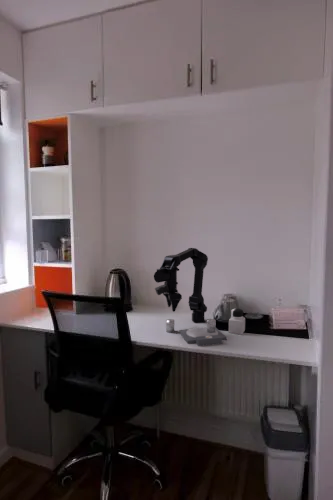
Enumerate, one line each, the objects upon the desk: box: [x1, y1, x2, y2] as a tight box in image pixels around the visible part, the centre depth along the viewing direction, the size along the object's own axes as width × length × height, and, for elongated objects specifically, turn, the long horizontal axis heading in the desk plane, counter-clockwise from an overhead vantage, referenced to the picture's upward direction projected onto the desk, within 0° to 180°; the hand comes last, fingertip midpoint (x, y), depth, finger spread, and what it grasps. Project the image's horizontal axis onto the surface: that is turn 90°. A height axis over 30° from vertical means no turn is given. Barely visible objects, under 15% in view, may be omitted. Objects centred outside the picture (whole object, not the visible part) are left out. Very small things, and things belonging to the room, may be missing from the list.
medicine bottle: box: [228, 308, 246, 335], centre depth 171 cm, size 7×7×12 cm
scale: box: [178, 326, 228, 347], centre depth 163 cm, size 20×20×3 cm
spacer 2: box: [206, 318, 217, 333], centre depth 166 cm, size 4×4×6 cm
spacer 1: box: [165, 318, 175, 334], centre depth 173 cm, size 4×4×6 cm
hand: (171, 309), depth 172 cm, fingers open, 9 cm apart
